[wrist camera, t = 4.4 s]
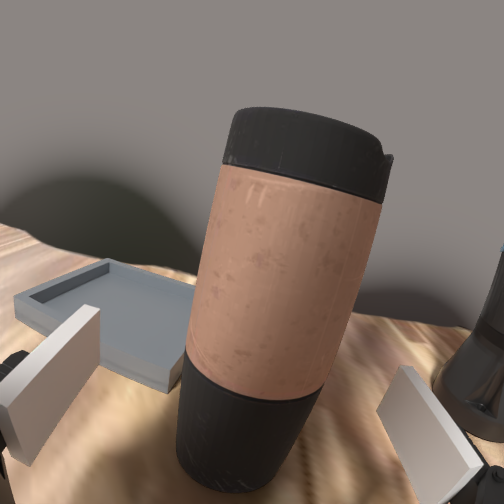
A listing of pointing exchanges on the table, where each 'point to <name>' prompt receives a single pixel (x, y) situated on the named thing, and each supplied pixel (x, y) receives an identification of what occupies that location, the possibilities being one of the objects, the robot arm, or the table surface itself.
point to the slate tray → (120, 317)
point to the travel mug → (274, 288)
